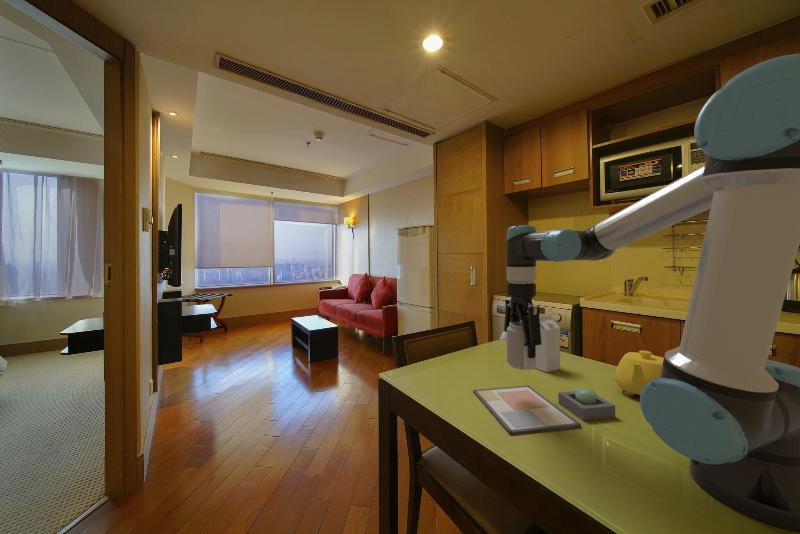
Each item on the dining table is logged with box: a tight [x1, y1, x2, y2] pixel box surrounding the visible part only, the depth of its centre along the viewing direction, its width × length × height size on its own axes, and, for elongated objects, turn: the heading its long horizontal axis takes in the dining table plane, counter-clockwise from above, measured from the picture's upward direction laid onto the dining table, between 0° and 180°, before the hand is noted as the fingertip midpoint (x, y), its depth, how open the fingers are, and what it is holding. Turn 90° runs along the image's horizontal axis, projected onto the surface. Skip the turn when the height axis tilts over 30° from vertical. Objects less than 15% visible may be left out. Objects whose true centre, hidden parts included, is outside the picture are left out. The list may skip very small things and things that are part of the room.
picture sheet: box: [472, 384, 582, 436], centre depth 80 cm, size 22×18×1 cm
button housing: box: [557, 390, 616, 422], centre depth 78 cm, size 9×9×3 cm
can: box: [506, 321, 536, 371], centre depth 83 cm, size 8×8×12 cm
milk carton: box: [535, 314, 561, 373], centre depth 108 cm, size 7×7×19 cm
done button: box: [574, 387, 597, 405], centre depth 78 cm, size 5×5×3 cm
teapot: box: [614, 350, 664, 397], centre depth 85 cm, size 14×20×13 cm
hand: (521, 363), depth 83 cm, fingers closed on can, 7 cm apart
